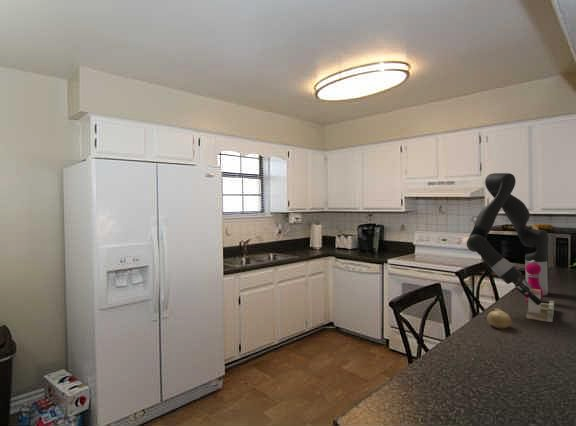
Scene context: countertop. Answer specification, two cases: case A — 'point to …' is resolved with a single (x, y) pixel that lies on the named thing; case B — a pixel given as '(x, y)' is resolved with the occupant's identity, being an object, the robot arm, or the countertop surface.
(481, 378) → the countertop surface
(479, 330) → the countertop surface
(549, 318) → the comb rack
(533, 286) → the pepper mill
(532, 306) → the plug
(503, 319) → the onion
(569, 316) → the countertop surface
